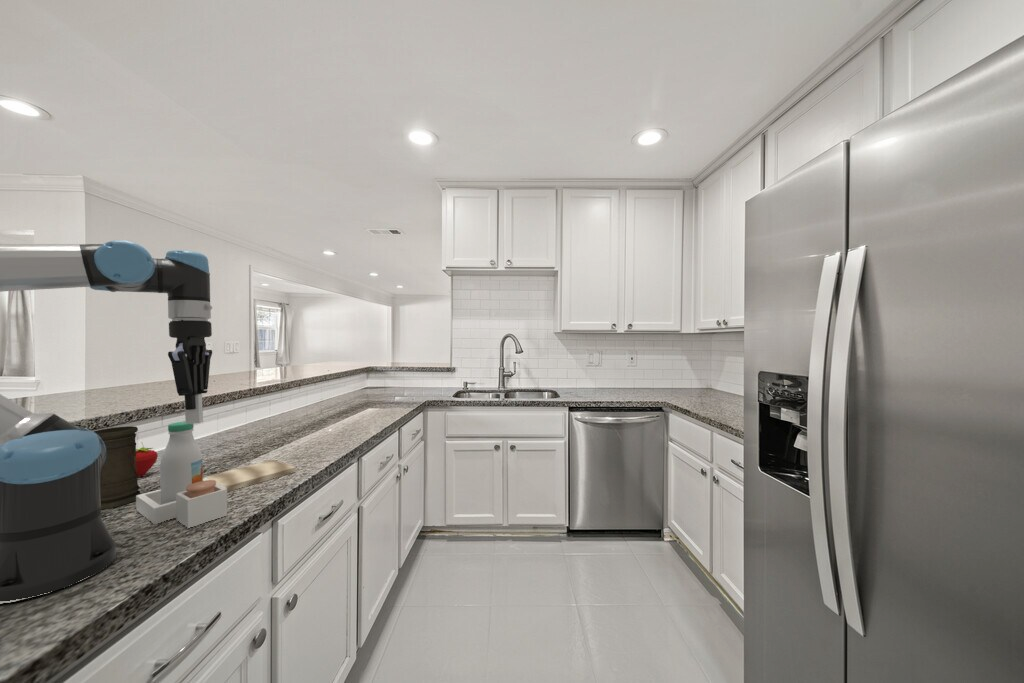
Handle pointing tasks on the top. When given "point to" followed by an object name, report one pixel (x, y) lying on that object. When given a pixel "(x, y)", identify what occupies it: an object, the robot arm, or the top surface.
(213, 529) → the top surface
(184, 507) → the dock
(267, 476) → the ash board
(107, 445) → the container
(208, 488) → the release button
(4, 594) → the robot arm
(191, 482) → the milk bottle
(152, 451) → the strawberry
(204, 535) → the top surface
